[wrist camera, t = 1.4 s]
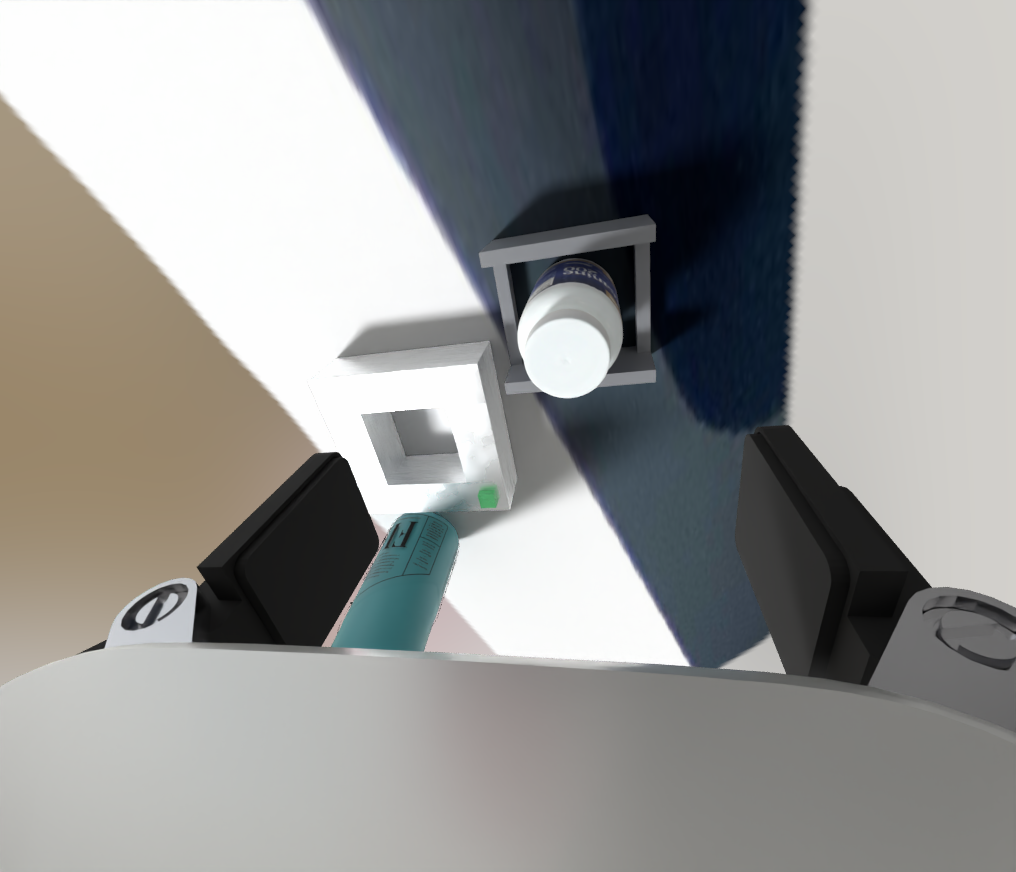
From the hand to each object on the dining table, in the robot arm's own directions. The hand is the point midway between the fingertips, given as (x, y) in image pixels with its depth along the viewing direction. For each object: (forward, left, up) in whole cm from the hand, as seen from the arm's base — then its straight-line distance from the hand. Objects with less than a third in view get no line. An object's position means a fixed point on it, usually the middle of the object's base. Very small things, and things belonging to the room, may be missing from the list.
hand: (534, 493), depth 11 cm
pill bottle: (+1, 0, -21) cm, 21 cm away
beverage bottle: (+20, -15, -21) cm, 33 cm away
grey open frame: (+1, 0, -21) cm, 21 cm away
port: (+9, -12, -21) cm, 26 cm away
